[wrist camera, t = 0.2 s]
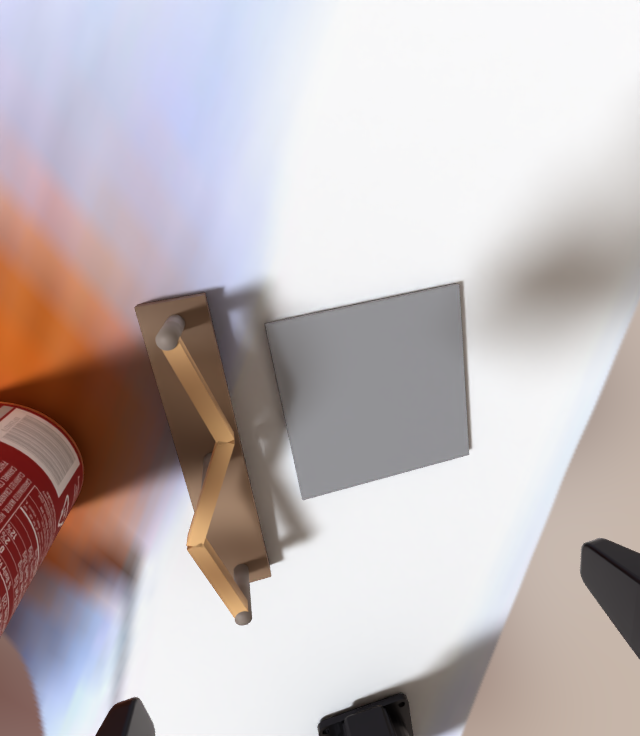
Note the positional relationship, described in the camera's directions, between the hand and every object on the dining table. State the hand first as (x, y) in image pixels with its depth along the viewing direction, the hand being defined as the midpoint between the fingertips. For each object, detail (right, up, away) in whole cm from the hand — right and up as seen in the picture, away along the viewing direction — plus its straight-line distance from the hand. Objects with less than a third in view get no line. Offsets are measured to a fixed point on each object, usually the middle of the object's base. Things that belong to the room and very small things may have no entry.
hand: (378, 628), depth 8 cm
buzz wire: (-7, +1, +14) cm, 16 cm away
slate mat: (+2, +4, +15) cm, 15 cm away
